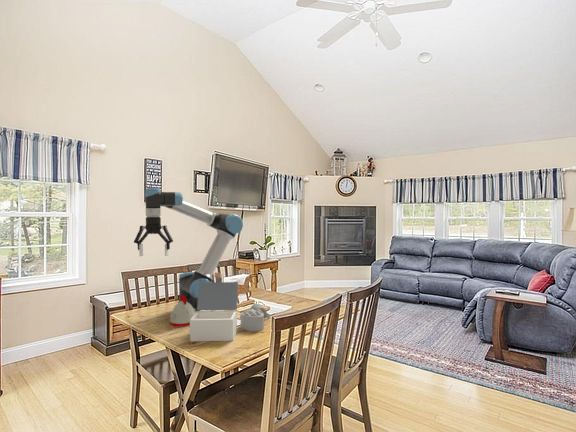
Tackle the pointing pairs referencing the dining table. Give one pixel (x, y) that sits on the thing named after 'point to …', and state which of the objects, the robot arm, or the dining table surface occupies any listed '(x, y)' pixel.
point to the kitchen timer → (182, 313)
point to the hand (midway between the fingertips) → (153, 255)
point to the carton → (213, 326)
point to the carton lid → (217, 295)
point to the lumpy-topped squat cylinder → (252, 320)
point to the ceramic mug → (263, 310)
